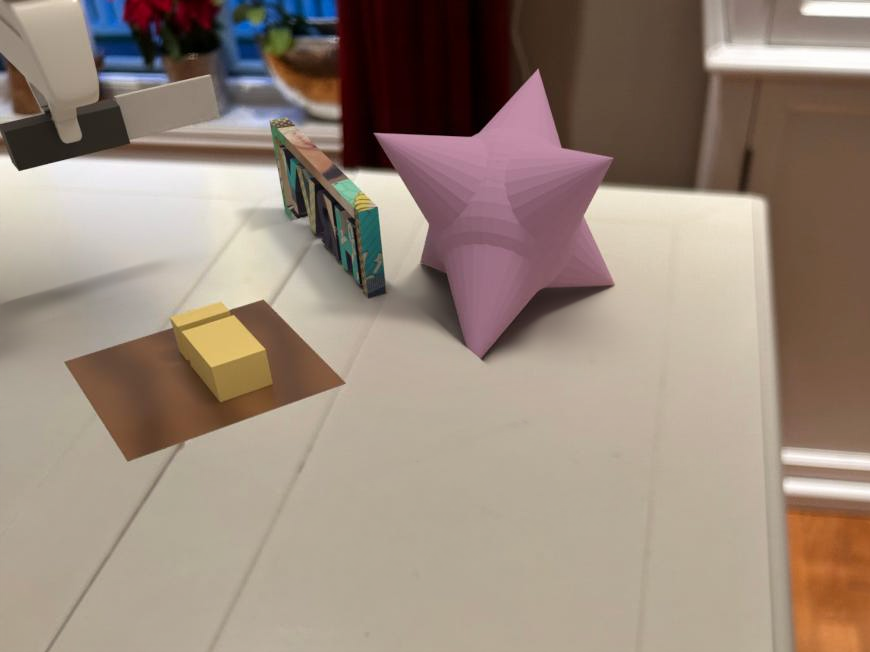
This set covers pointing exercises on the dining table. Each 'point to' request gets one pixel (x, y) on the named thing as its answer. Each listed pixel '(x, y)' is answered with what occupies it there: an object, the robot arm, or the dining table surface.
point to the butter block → (227, 358)
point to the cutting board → (192, 384)
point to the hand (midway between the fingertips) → (64, 133)
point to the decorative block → (329, 205)
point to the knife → (112, 122)
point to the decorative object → (503, 211)
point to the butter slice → (196, 321)
